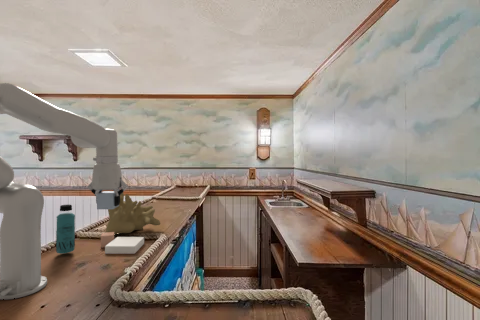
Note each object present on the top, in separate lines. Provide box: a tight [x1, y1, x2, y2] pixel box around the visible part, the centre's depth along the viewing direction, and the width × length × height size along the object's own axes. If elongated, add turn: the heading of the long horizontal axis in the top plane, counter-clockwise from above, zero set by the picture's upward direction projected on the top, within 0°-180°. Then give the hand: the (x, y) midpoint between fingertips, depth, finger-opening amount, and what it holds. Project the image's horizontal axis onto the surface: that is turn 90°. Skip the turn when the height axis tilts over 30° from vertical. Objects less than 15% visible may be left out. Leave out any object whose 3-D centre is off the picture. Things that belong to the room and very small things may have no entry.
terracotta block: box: [100, 232, 115, 248], centre depth 119 cm, size 5×5×5 cm
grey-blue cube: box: [96, 190, 119, 210], centre depth 107 cm, size 6×6×6 cm
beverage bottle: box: [55, 204, 76, 255], centre depth 107 cm, size 6×7×20 cm
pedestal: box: [104, 236, 145, 255], centre depth 115 cm, size 12×12×3 cm
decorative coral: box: [105, 192, 161, 234], centre depth 138 cm, size 26×22×25 cm
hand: (108, 205), depth 107 cm, fingers closed on grey-blue cube, 6 cm apart
